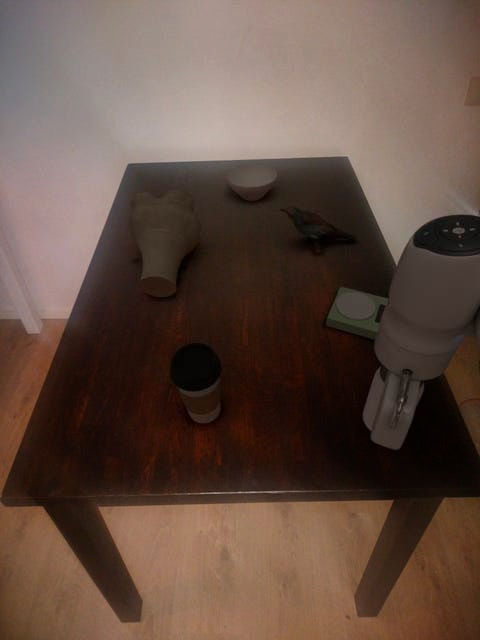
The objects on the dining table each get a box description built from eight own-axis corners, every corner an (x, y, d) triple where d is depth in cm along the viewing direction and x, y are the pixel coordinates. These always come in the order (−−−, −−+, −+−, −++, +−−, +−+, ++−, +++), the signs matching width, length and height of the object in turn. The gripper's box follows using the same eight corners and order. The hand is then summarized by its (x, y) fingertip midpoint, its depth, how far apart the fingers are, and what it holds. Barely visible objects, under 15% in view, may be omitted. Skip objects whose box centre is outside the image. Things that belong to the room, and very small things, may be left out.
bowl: (222, 188, 129) (221, 167, 124) (267, 180, 132) (268, 160, 127) (235, 211, 119) (233, 190, 114) (283, 202, 121) (284, 181, 116)
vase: (197, 276, 77) (207, 180, 91) (88, 266, 76) (114, 170, 89) (196, 326, 96) (204, 241, 110) (108, 319, 94) (128, 233, 108)
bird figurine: (351, 227, 108) (322, 172, 95) (362, 248, 102) (332, 192, 89) (309, 250, 113) (276, 202, 100) (317, 272, 106) (282, 223, 93)
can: (354, 409, 61) (367, 363, 53) (390, 397, 62) (408, 350, 54) (376, 445, 57) (393, 401, 48) (414, 431, 58) (438, 386, 49)
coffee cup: (179, 430, 68) (163, 382, 57) (184, 390, 74) (170, 339, 63) (226, 429, 68) (219, 381, 57) (227, 389, 74) (221, 338, 63)
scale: (386, 306, 87) (389, 296, 85) (376, 340, 80) (379, 330, 78) (339, 294, 91) (340, 284, 89) (325, 325, 84) (327, 315, 82)
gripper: (432, 423, 39) (400, 477, 49) (449, 296, 51) (421, 360, 61) (369, 402, 41) (350, 458, 51) (400, 285, 54) (381, 348, 63)
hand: (389, 403), depth 56 cm, fingers closed on can, 6 cm apart
